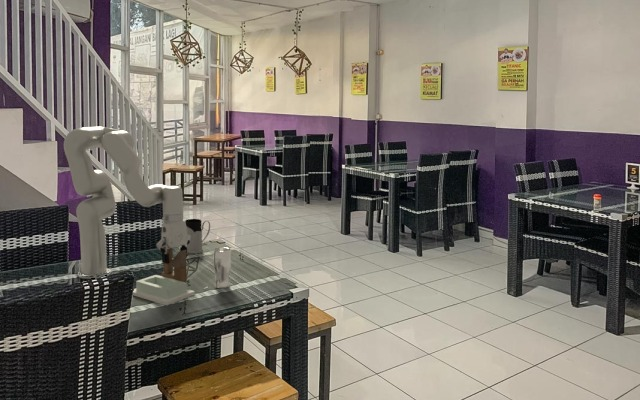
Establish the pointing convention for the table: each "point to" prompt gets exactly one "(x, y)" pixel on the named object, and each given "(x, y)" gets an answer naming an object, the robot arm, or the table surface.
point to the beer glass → (221, 266)
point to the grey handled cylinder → (195, 235)
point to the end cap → (162, 289)
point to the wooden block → (176, 266)
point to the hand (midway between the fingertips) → (174, 260)
